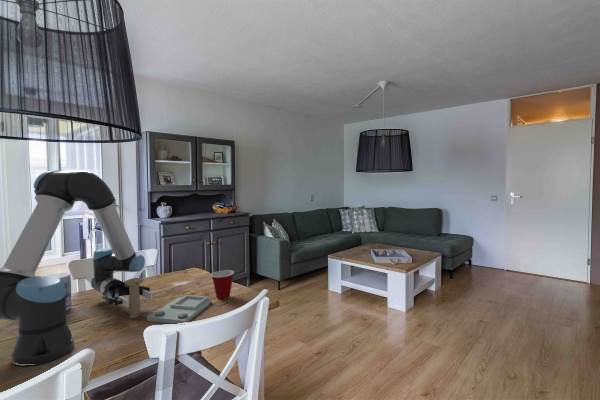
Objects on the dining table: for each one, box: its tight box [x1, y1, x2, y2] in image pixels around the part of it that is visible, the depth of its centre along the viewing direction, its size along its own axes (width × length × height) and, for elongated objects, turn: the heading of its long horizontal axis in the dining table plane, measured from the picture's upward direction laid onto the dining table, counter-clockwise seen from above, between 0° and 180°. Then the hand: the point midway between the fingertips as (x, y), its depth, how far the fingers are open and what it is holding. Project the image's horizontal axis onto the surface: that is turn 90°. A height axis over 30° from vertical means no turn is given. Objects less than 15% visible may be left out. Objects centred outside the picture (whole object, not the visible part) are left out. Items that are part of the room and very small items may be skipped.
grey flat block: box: [146, 294, 213, 324], centre depth 132 cm, size 22×16×3 cm
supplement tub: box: [46, 272, 72, 312], centre depth 132 cm, size 10×10×15 cm
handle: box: [124, 277, 144, 319], centre depth 125 cm, size 5×6×15 cm
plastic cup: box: [210, 269, 235, 300], centre depth 147 cm, size 11×11×12 cm
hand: (140, 299), depth 123 cm, fingers open, 9 cm apart
